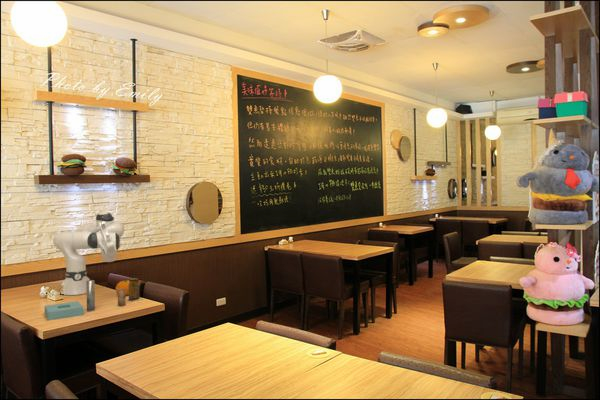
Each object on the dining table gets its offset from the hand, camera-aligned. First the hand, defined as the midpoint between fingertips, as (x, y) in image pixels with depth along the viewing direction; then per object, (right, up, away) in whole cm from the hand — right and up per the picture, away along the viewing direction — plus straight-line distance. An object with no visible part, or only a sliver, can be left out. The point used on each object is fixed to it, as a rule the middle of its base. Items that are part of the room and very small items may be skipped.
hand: (105, 228), depth 256 cm
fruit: (+5, -43, +19) cm, 47 cm away
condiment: (+14, -43, +8) cm, 46 cm away
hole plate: (-11, -44, -24) cm, 51 cm away
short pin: (+13, -43, -7) cm, 46 cm away
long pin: (0, -43, -17) cm, 47 cm away
